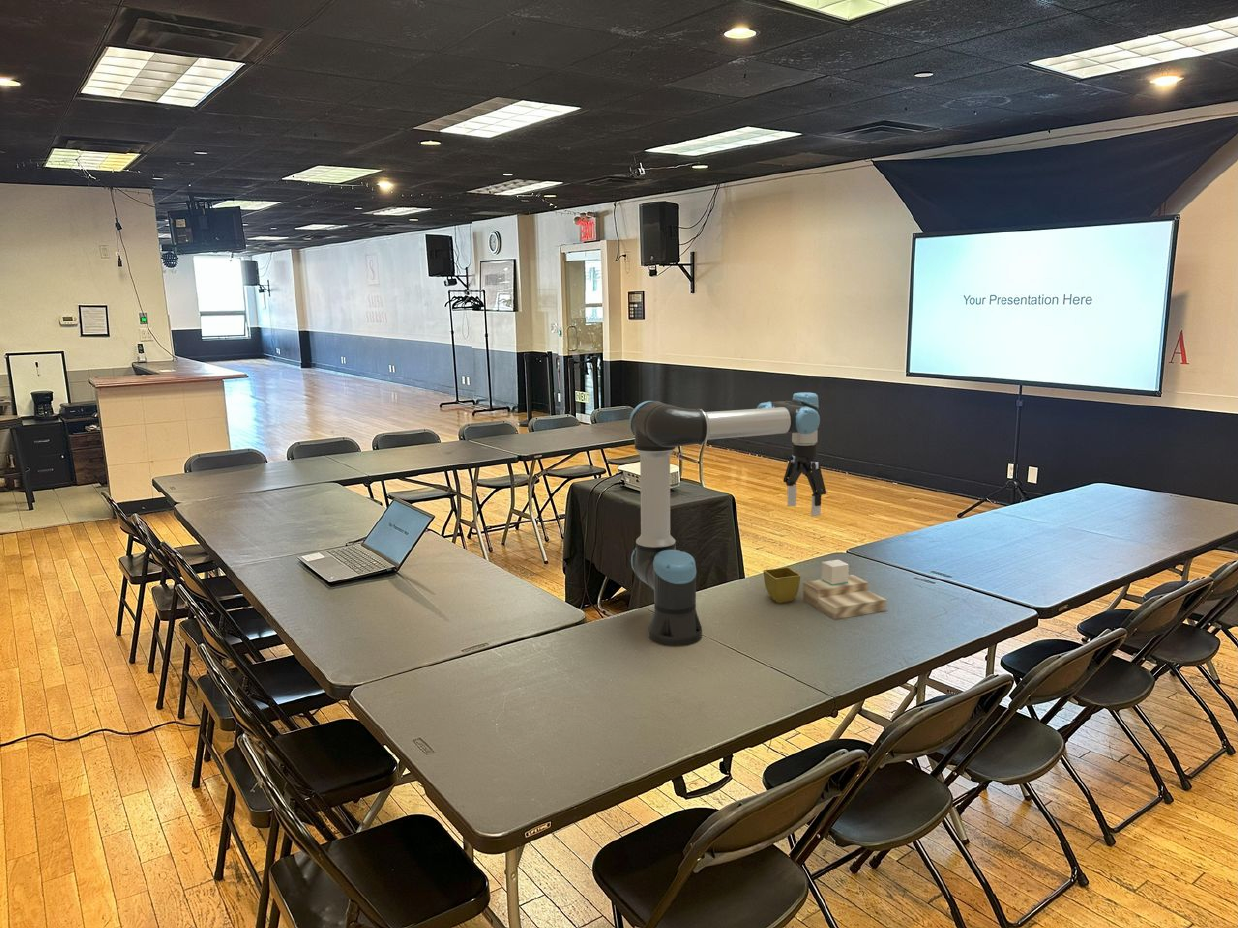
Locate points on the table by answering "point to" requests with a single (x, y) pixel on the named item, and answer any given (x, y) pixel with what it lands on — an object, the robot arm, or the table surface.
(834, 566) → the cream block
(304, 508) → the table surface
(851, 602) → the beech steps
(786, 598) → the flower pot
